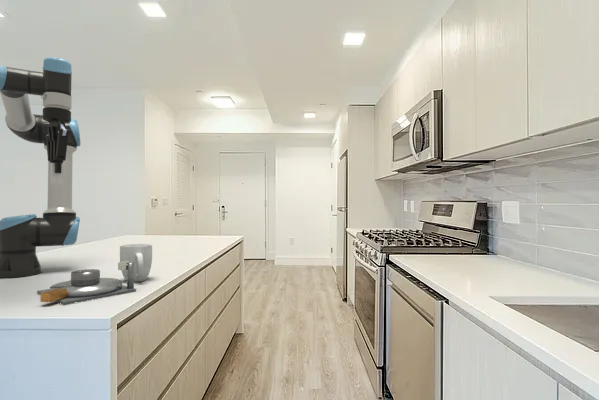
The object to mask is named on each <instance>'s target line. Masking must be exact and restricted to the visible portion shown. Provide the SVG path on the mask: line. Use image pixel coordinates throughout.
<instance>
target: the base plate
mask: <svg viewBox="0 0 599 400" xmlns="http://www.w3.org/2000/svg"><path fill="white" fill-rule="evenodd" d="M46 291H50V288H47V289H41V290H39V289H38V290H36V293H37V294H38V295H40V294H41V293H43V292H46ZM135 292H137V288H135V287H134V288H132V289H127V285H124V284H122V287H121V288H120V289H118V290H115V291H112V292H108V293H103V294H98V295H91V296H80V297H65V298H62V299H59V300H56V302H55V303H57V302H58V303H57V304H60V303H61V304H60V305H62V304H63V305H62V306H66V305H65V304H67V305H71V304H70V303H72V304H76V303H75V302H78V303H82V302H81V301H83V302H87V300H88V301H92V299H93V300H97V299H98V298H99V299H103V297H104V298H110V297H114V296H119V295H124V294H129V293H135Z"/></svg>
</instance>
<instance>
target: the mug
mask: <svg viewBox="0 0 599 400" xmlns="http://www.w3.org/2000/svg"><path fill="white" fill-rule="evenodd" d="M121 261H130V262H134V283H135V282H136V283H138V282H143V281H145V280H147V278H148V277H149V275H150V272H151V268H152V264H153V263H152V262H153V244H152V243H142V242H135V243H134V242H133V243H125V244H120V245H119V262H121ZM120 271H121V273H122V274H121V275H122V276H123V278H124V280H125V281H126V282H127V270H120Z"/></svg>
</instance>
